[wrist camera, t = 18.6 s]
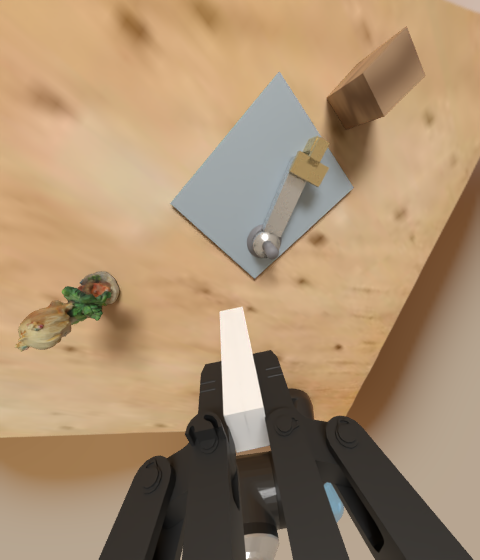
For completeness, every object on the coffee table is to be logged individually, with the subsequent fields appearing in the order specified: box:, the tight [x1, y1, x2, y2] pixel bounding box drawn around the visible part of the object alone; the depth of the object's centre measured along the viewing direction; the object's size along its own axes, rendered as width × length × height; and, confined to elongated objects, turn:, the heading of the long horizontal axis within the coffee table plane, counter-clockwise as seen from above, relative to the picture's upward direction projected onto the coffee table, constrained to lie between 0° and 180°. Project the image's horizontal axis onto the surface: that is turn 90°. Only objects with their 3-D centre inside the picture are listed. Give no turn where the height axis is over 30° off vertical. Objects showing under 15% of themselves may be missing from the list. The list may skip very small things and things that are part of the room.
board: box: [170, 72, 354, 279], centre depth 31 cm, size 19×22×7 cm
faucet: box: [252, 156, 307, 258], centre depth 33 cm, size 15×4×2 cm, turn 159°
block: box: [327, 26, 425, 129], centre depth 26 cm, size 5×5×8 cm
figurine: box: [15, 272, 119, 352], centre depth 31 cm, size 9×8×15 cm
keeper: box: [289, 136, 330, 187], centre depth 30 cm, size 5×5×4 cm
